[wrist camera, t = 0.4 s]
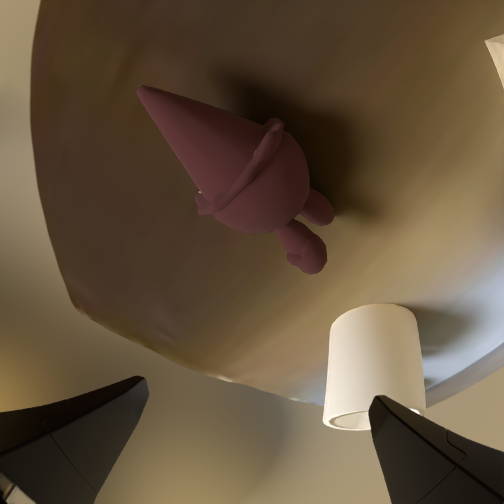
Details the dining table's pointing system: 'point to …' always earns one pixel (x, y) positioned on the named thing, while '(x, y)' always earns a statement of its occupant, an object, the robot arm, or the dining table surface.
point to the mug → (372, 364)
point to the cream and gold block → (497, 54)
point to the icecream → (245, 173)
